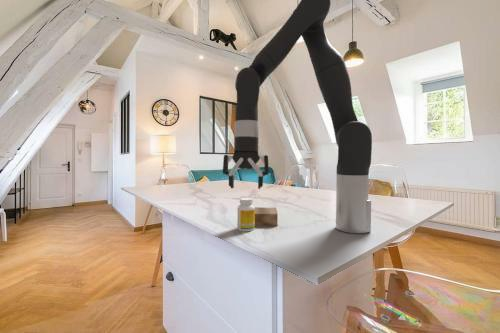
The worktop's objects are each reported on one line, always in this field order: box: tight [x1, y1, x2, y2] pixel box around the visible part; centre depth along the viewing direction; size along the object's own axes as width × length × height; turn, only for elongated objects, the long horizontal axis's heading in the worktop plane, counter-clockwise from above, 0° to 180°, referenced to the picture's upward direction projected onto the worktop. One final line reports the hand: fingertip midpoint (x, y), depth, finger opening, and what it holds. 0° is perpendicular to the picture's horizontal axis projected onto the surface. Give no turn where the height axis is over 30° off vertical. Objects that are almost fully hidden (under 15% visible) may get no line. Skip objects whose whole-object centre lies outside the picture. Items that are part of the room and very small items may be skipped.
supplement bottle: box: [237, 197, 256, 232], centre depth 73 cm, size 5×5×10 cm
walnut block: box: [254, 206, 279, 227], centre depth 82 cm, size 10×10×4 cm
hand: (245, 188), depth 73 cm, fingers open, 8 cm apart
